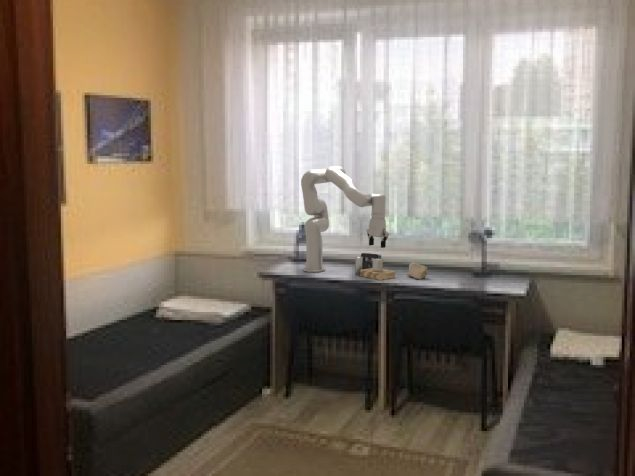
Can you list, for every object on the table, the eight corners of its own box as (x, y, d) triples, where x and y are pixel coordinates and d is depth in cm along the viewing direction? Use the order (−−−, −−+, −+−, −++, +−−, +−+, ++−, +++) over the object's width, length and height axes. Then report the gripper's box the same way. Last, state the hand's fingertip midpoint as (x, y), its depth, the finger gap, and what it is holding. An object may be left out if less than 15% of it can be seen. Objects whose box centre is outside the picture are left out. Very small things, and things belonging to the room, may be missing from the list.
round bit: (353, 273, 397) (354, 256, 396) (359, 273, 400) (359, 256, 398) (358, 274, 394) (358, 257, 393) (363, 274, 396) (364, 257, 395)
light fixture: (385, 270, 412) (386, 252, 411) (376, 272, 401) (377, 254, 400) (369, 269, 417) (369, 251, 416) (359, 271, 406) (360, 253, 405)
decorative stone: (411, 275, 394) (412, 261, 393) (429, 278, 383) (430, 264, 382) (401, 276, 390) (401, 262, 388) (419, 280, 378) (419, 266, 377)
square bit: (372, 276, 389) (372, 259, 388) (377, 275, 391) (377, 258, 390) (377, 277, 386) (377, 260, 385) (382, 276, 388) (382, 259, 387)
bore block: (360, 275, 391) (360, 269, 391) (375, 273, 399) (376, 267, 398) (379, 280, 379) (379, 273, 378) (395, 277, 386) (395, 271, 386)
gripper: (362, 215, 389) (361, 244, 391) (383, 218, 375) (382, 249, 378) (372, 214, 393) (371, 243, 396) (393, 217, 380) (392, 248, 382)
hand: (377, 246), depth 387 cm, fingers open, 9 cm apart
